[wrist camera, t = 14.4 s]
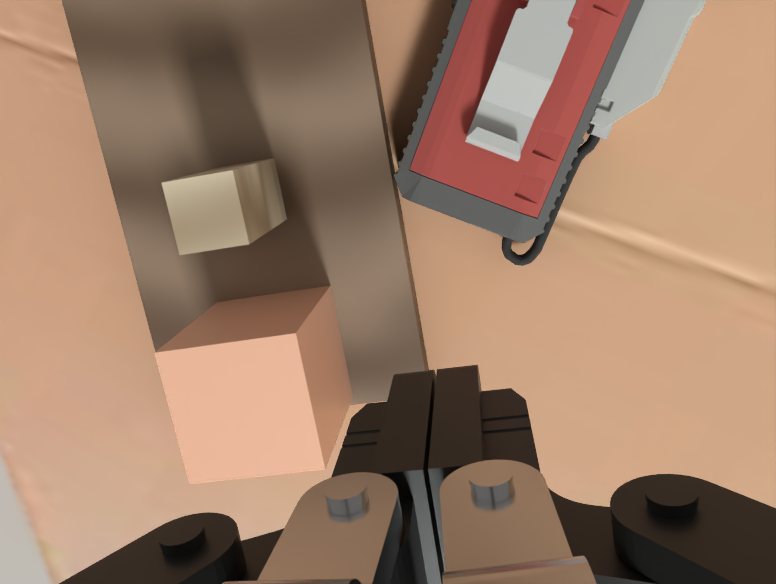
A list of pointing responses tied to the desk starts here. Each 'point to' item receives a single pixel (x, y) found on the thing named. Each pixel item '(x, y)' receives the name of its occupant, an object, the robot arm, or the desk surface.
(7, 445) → the desk surface
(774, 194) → the desk surface
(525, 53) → the walkie-talkie
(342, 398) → the peach cube
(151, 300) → the board
